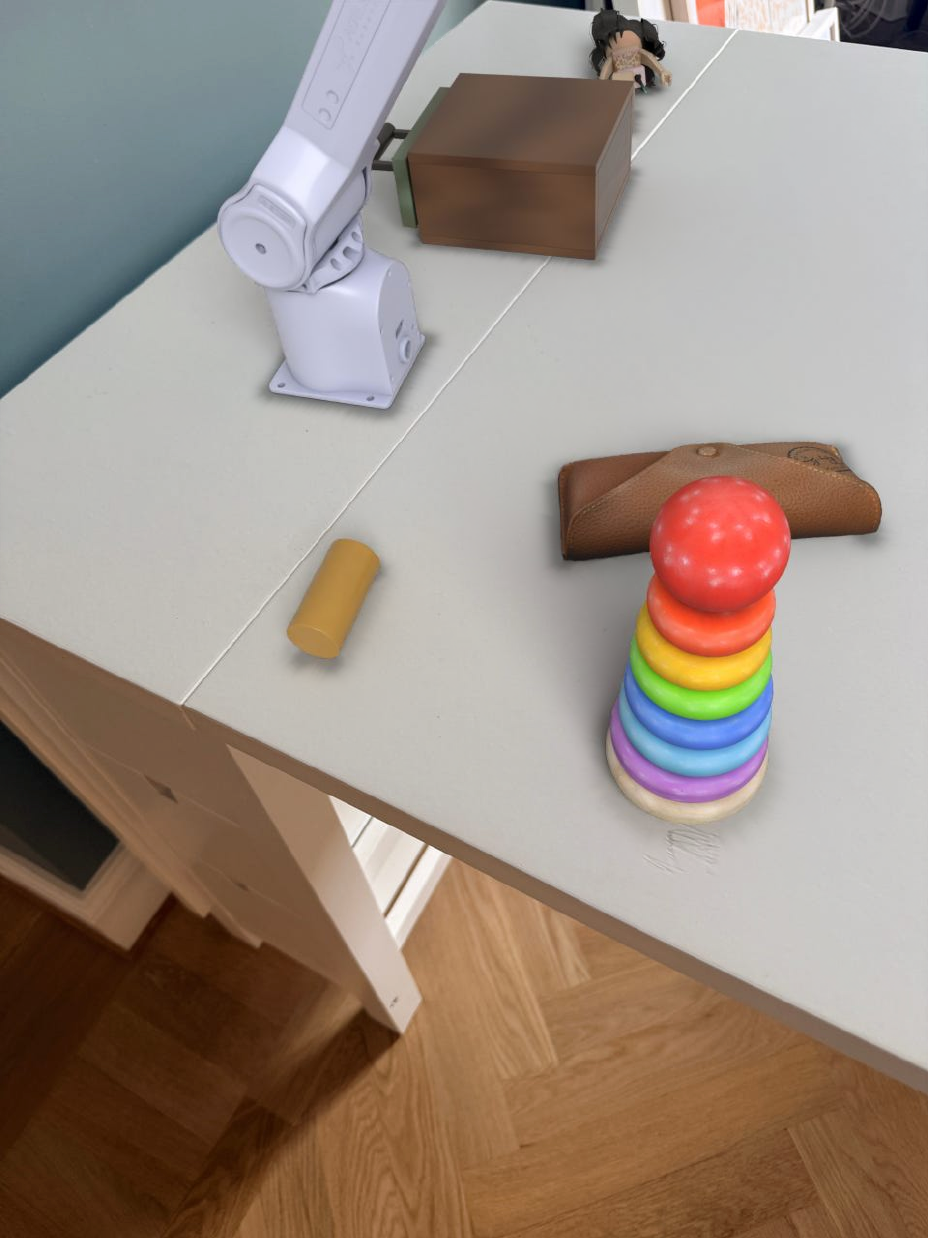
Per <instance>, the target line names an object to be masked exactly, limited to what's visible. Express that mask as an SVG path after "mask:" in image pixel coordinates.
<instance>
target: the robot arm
mask: <svg viewBox="0 0 928 1238" xmlns="http://www.w3.org/2000/svg"><path fill="white" fill-rule="evenodd" d="M448 2H449V0H332V1H331V4H330V7H329V9H328V12H327V14H326V15H325V19H324V21H323V24H322V26H321V29H320V31H319V34H318V36H317V38H316V41H315V44H314V46H313V49H312V51H311V53H310V56H309V58H308V61H307V63H306V66H305V69H304V71H303V73H302V76H301V78H300V81H299V83H298V86H297V88H296V91H295V92H294V93H295V94H294V96H293V98H292V101H291V104H290V106H289V109H288V111H287V113H286V116H285V118H284V121H283V123H282V125H281V127H280V128H279V130H278V132H277V133H276V135H275V136H274V138H273V139H272V141H271V142H270V143H269V145H268V147H267V149H266V150H265V151H264V153H263V154H262V156H261V157H260V158H259V161H258V162H257V165H256V166H255V167H254V168H253V170H252V171H251V174H250V177H249V179H248V180H247V182H246V183H245V184H244V185H243V186H242V187H241V188H240V189H239V190H238V192H236V193H235V194H233V195H232V196H230V197H228V198H226V200H225V201H224V202H223V204H222V205H221V206H220V208H219V210H218V213H217V220H216V227H217V233H218V237H219V240H220V243H221V245H222V247H223V249H224V251H225V253H226V254H227V257H229V259H230V261H231V262H232V263H233V264H234V265H235V266H236V267H237V268H238V270H239V271H240V272H242V273H243V274H244V275H245V276H246V277H248V278H249V279H250V280H252V281H253V282H254V284H255V285H257V286H262V288H263V291H264V295H265V298H266V301H267V304H268V307H269V310H270V313H271V315H272V320H273V323H274V325H275V329H276V332H277V336H278V338H279V342H280V345H281V348H282V351H283V355H284V357H285V359H284V360H283V362H282V363H281V364H280V366H279V368H278V369H277V371H276V373H275V374H274V376H273V377H272V379H271V380H270V382H269V384H268V388H269V391H270V392H271V393H273V394H274V393H275V394H276V393H277V394H281V395H288V396H295V397H301V398H307V399H315V400H322V401H329V402H334V403H341V404H348V405H354V406H361V407H368V408H374V409H380V410H381V409H382V410H385V409H389V408H390V407H391V406H392V405H393V403H394V401H395V399H396V397H397V395H398V393H399V391H400V389H401V387H402V386H403V384H404V382H405V380H406V378H407V376H408V375H409V372H410V371H411V369H412V366H413V365H414V363H415V361H416V359H417V357H418V355H419V354H420V352H421V351H422V348H423V346H424V344H425V343H426V337H425V335H424V334H423V333H421V332H420V327H419V321H418V315H417V310H416V309H417V308H416V304H415V300H414V292H413V287H412V281H411V276H410V273H409V270H408V268H407V266H406V264H405V263H404V262H403V261H402V260H400V259H397V258H394V257H391V256H388V255H385V254H382V253H380V252H378V251H377V250H375V249H373V248H371V247H370V246H369V245H367V244H366V242H364V238H363V231H364V230H365V228H364V223H363V218H362V213H361V211H362V210H363V209H364V208H365V207H366V205H367V204H368V202H369V200H370V197H371V194H372V189H373V179H372V177H373V176H372V171H371V167H372V162H373V159H374V156H375V154H376V152H377V151H378V149H379V147H380V143H379V141H378V140H377V136H378V134H379V133H380V131H381V129H382V127H383V125H384V123H386V121H387V119H388V117H389V115H390V113H391V111H392V109H393V108H394V106H395V104H396V102H397V100H398V99H399V98H398V97H399V96H400V95H401V92H402V91H403V88H404V86H405V84H406V82H407V80H408V79H409V77H410V74H411V73H412V71H413V69H414V67H415V65H416V63H417V61H418V59H419V57H420V55H421V54H422V52H423V50H424V48H425V46H426V44H427V42H428V40H429V38H430V36H431V34H432V33H433V31H434V29H435V27H436V25H437V23H438V21H439V19H440V17H441V15H442V13H443V11H444V9H445V8H446V5H447V4H448Z"/></svg>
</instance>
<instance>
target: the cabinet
mask: <svg viewBox="0 0 928 1238" xmlns="http://www.w3.org/2000/svg"><path fill="white" fill-rule="evenodd" d="M454 79H455V80H454V81H453V82H452V83H451V85H450V86H449V87H450V89H449V90H448V92H447V93H446V95H445V96H444V98H443V99H442V101H441V102H440V104H439V105H438V107H437V108H436V110H435V111H434V113H433V114H432V116H431V117H430V119H429V120H428V122H427V123H426V125H425V126H424V128H423V129H422V131H421V132H420V134H419V135H418V137H417V138H416V140H415V141H414V143H413V144H412V146H411V147H410V149H409V150H408V152H407V155H408V161H409V168H410V174H411V181H412V187H413V193H414V200H415V206H416V212H417V219H418V231H419V237H420V243H422V244H429V245H440V246H450V247H459V248H460V247H461V248H467V249H469V248H470V249H477V250H478V249H480V250H490V251H499V252H509V253H519V254H529V255H530V254H531V255H541V256H551V257H560V258H571V259H579V260H580V259H581V260H589V261H590V260H591V261H595V260H596V258H597V255H598V253H599V251H600V248H601V246H602V244H603V241H604V239H605V236H606V233H607V232H608V229H609V227H610V224H611V222H612V219H613V216H614V215H615V211H616V210H617V207H618V205H619V203H620V200H621V198H622V195H623V193H624V190H625V189H626V186H627V183H628V181H629V178H630V176H631V170H632V147H633V129H632V125H633V121H634V113H633V100H634V81H628V80H611V79H608V80H606V79H599V78H580V77H561V76H540V75H539V76H537V75H517V74H515V75H514V74H496V73H495V74H494V73H475V72H474V73H473V72H459V74H458V75H457V76H456V78H454ZM634 101H635V100H634ZM633 126H634V125H633Z"/></svg>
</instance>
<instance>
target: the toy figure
mask: <svg viewBox="0 0 928 1238" xmlns="http://www.w3.org/2000/svg"><path fill="white" fill-rule="evenodd" d="M599 9H600V11H599V12H598V13H597V14H595V15H594V16H593V17H592V18H593V19H592V21H591V23H590V25H589V27H591V29H589V30H588V31H589V33H588V34H589V37H590V39H591V41H592V44H593V46H594V47H593V49H592V51H591V52H590V54H589V55H588V58H590V59H588V61H589V64H590V65H591V69H594V71H595V72H596V77H598V79H606V80H628V81H634V100H633V114H635V113H634V112H635V97H636V89H637V90H638V89H640V88H641V90H642V91H643V92H644V94H646V95H647V93H648V89H647V88H646V86H648V87H649V88H652V87H656V86H657V85H656V84H655V82H654V81H655V79H656V75H657V76H658V77H660V79H659V80H660V81H659V82H660V83H659V84H660V85H661V87H662V88H663V87H665V83H667V85H668V87H670V88H671V86H672V83H673V82H672V81H673V74H672V72H671V71H670V70H666V69H665V68H664V66H663V65H662V64H661V63H660V62H661V61H663V60H664V58H665V57H666V50H665V44H667V42H666V41H664V40H660V38H659V37H660V36H659V32H658V30H659V26H658V25H657V24H656V23H651V22H650V21H649V20H647V19H645V18H643V17H640V20H639V19H634V18H633V19H632V18H631V19H628V18H627V17H625V16H624V15H623V14H620V10H616V9H603V7H600V8H599ZM657 58H658V59H657ZM603 62H604V63H603ZM610 76H611V77H610ZM609 78H611V79H609ZM633 129H634V125H632V130H633Z"/></svg>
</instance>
